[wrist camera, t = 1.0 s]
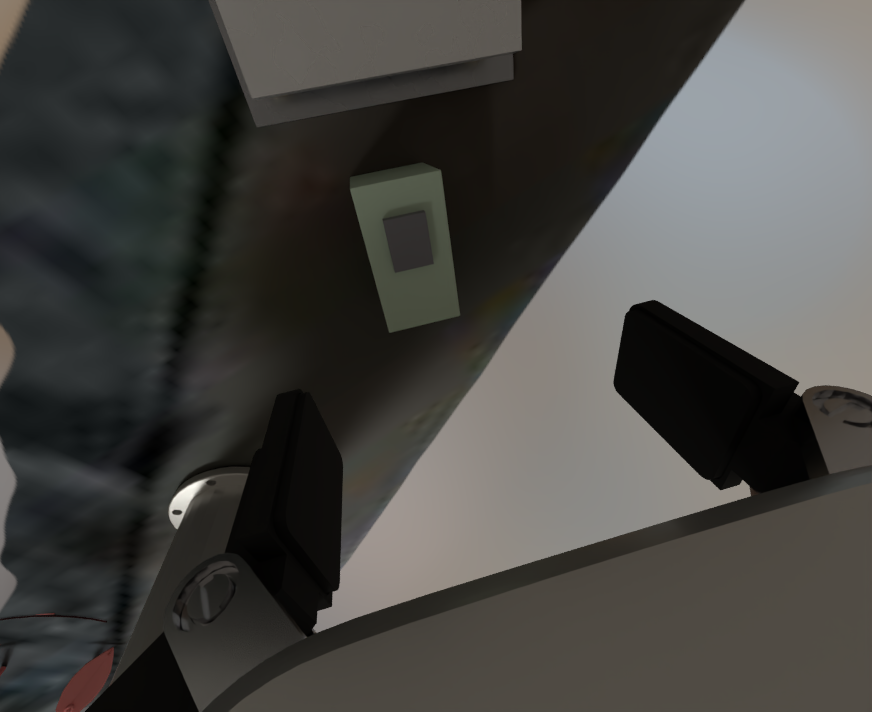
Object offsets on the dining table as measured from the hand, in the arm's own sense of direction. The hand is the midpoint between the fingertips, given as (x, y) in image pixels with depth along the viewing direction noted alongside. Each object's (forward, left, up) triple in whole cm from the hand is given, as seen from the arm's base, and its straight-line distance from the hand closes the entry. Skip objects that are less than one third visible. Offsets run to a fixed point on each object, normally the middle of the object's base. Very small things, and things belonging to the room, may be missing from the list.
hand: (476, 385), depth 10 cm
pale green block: (0, 0, -19) cm, 19 cm away
